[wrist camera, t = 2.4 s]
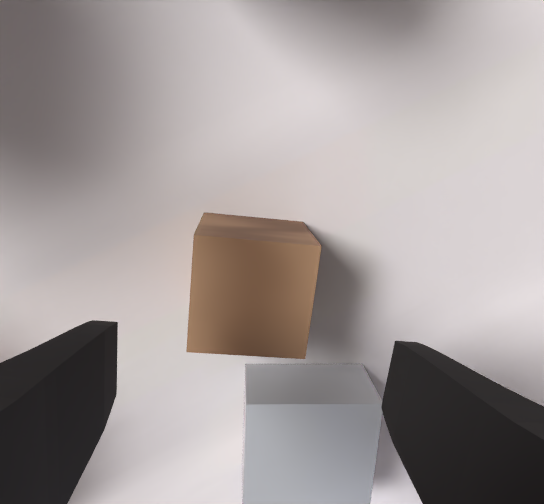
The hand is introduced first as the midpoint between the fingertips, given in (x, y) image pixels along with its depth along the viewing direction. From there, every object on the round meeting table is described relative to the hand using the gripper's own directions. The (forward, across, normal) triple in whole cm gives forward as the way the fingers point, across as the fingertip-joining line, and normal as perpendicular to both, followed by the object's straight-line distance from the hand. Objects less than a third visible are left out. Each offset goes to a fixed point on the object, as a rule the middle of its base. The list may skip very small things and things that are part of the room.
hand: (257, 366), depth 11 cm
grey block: (+9, -4, +8) cm, 13 cm away
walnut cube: (+9, 0, 0) cm, 9 cm away
